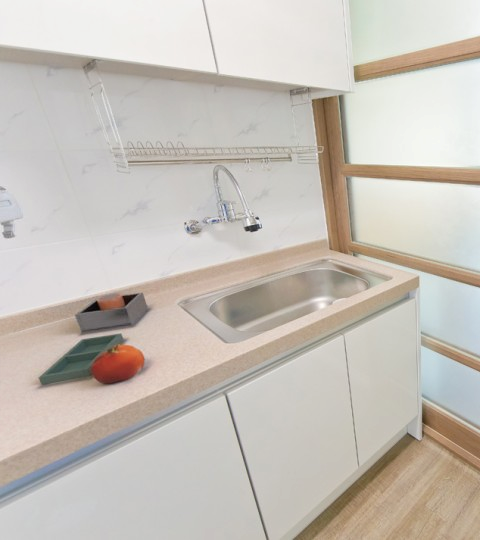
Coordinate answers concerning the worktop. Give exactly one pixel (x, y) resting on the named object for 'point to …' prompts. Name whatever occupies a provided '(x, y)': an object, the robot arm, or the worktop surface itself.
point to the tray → (79, 359)
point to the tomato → (117, 364)
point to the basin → (112, 315)
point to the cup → (111, 301)
